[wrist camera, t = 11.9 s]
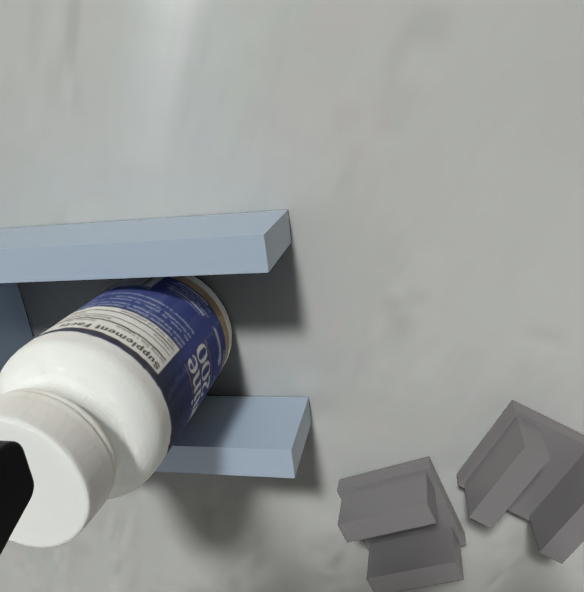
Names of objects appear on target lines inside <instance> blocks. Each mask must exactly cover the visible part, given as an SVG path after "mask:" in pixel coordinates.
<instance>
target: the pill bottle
mask: <svg viewBox="0 0 584 592" xmlns="http://www.w3.org/2000/svg"><path fill="white" fill-rule="evenodd" d="M231 338H232V329H231V324H230V320H229V317H228V314H227V312H226V310H225V308H224V306H223V304H222V303H221V301H220V300H219V298H218V297H217V296H216V294H215V293H214V292H213V291H212V290H211V289H210V288H209V287H208V286H207V285H206V284H204V283H203V282H202V281H201V280H199V279H197V278H196V277H194V276H169V277H144V278H124V279H123V280H121V281H119V282H117V283H116V284H114V285H113V286H112V287H110V288H109V289H107V290H106V291H104V292H103V293H101V294H100V295H98V296H97V297H95V298H94V299H92V300H91V301H89V302H88V303H86V304H85V305H83V306H82V307H80V308H79V309H77V310H76V311H74V312H73V313H71V314H70V315H68V316H67V317H65V318H64V319H63V320H61V321H60V322H58V323H57V324H55V325H54V326H52V327H51V328H49V329H48V330H46V331H45V332H43V333H42V334H40V335H39V336H37V337H36V338H34V339H33V340H31V341H30V342H28V343H27V344H26V345H24V346H23V347H22V348H20V349H19V350H18V351H17V352H16V353H15V354H14V355H13V356H12V357H11V358H10V359H9V360H8V361H7V363H6V364H5V365H4V367H3V369H2V370H1V372H0V440H1V441H16V442H18V443H19V444H20V445H21V446H22V447H23V449H24V452H25V455H26V458H27V462H28V465H29V468H30V471H31V474H32V477H33V480H34V491H33V494H32V497H31V499H30V501H29V503H28V505H27V507H26V508H25V510H24V512H23V514H22V516H21V518H20V519H19V521H18V523H17V525H16V527H15V529H14V531H13V532H12V534H11V536H10V538H9V541H12V542H16V543H19V544H22V545H26V546H31V547H39V548H44V547H54V546H59V545H62V544H64V543H67V542H69V541H70V540H72V539H73V538H75V537H76V536H77V535H78V534H79V533H80V532H81V531H82V530H83V529H84V528H85V527H86V525H87V524H88V523H89V522H90V520H91V519H92V518H93V517H94V515H95V514H96V513H97V512H98V511H99V509H100V508H101V507H102V506H103V504H104V503H105V502H106V500H107V499H112V498H116V497H120V496H123V495H125V494H128V493H130V492H132V491H133V490H135V489H137V488H138V487H139V486H141V485H142V484H143V483H145V482H146V481H147V480H148V479H149V478H150V477H151V476H152V474H153V473H154V472H155V470H156V469H157V468H158V467H159V465H160V464H161V463H162V461H163V460H164V458H165V457H166V455H167V454H168V452H169V450H170V449H171V448H172V446H173V444H174V443H175V441H176V440H177V438H178V437H179V435H180V433H181V432H182V430H183V429H184V427H185V426H186V424H187V423H188V421H189V420H190V419H191V417H192V416H193V414H194V413H195V411H196V410H197V408H198V406H199V405H200V403H201V402H202V400H203V398H204V397H205V395H206V394H207V392H208V391H209V389H210V388H211V386H212V384H213V383H214V381H215V380H216V378H217V377H218V375H219V374H220V372H221V370H222V368H223V366H224V365H225V363H226V361H227V359H228V356H229V353H230V349H231Z"/></svg>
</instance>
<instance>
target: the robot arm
mask: <svg viewBox="0 0 584 592" xmlns="http://www.w3.org/2000/svg"><path fill="white" fill-rule="evenodd" d="M33 491H34V480H33V477H32V474H31V471H30V468H29V465H28V462H27V458H26V455H25V452H24V449H23V447H22V446H21V445H20V444H19V443H18V442H16V441H1V440H0V554H1V553H2V551H3V549H4V547H5V545H6V543H7V542H8V540H9V538H10V536H11V534H12V532H13V531H14V529H15V527H16V525H17V523H18V521H19V519H20V518H21V516H22V514H23V512H24V510H25V508H26V507H27V505H28V503H29V501H30V499H31V497H32V494H33Z"/></svg>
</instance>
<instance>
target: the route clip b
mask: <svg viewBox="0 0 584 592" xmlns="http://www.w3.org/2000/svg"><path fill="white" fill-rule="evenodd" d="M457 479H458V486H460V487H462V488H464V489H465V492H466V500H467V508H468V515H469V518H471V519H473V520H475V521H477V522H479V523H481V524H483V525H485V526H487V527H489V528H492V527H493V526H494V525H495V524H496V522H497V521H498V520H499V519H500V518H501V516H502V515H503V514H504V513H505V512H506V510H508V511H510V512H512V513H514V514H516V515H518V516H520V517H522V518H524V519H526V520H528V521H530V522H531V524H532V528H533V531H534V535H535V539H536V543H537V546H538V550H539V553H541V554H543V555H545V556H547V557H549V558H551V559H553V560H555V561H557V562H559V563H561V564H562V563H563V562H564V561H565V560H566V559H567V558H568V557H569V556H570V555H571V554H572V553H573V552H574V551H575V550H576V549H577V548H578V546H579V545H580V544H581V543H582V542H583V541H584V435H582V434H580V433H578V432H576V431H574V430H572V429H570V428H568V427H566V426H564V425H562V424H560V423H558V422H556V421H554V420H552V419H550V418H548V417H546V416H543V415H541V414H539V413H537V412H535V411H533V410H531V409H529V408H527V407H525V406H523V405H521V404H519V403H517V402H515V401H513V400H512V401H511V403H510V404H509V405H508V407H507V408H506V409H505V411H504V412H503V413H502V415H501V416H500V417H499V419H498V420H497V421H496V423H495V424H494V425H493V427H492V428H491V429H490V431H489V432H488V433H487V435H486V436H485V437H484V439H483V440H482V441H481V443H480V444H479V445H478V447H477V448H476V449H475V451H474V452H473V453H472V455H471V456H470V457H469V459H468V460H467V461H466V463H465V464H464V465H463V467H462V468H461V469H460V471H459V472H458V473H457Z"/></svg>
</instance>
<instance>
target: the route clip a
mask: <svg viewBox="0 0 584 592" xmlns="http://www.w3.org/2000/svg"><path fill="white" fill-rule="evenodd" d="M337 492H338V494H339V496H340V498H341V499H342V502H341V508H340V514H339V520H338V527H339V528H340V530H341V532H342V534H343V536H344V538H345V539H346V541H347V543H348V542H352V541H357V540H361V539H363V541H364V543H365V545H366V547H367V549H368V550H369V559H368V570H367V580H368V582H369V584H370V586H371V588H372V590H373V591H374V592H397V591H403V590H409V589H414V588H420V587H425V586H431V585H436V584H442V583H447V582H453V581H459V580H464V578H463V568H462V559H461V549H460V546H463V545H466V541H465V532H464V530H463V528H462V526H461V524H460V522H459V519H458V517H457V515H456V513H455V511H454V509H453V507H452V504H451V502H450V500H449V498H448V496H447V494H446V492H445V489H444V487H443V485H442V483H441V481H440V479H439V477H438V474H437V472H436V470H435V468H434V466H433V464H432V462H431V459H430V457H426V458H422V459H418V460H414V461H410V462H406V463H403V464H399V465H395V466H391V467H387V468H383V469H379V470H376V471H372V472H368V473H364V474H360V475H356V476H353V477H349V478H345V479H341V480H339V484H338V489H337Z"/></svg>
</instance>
